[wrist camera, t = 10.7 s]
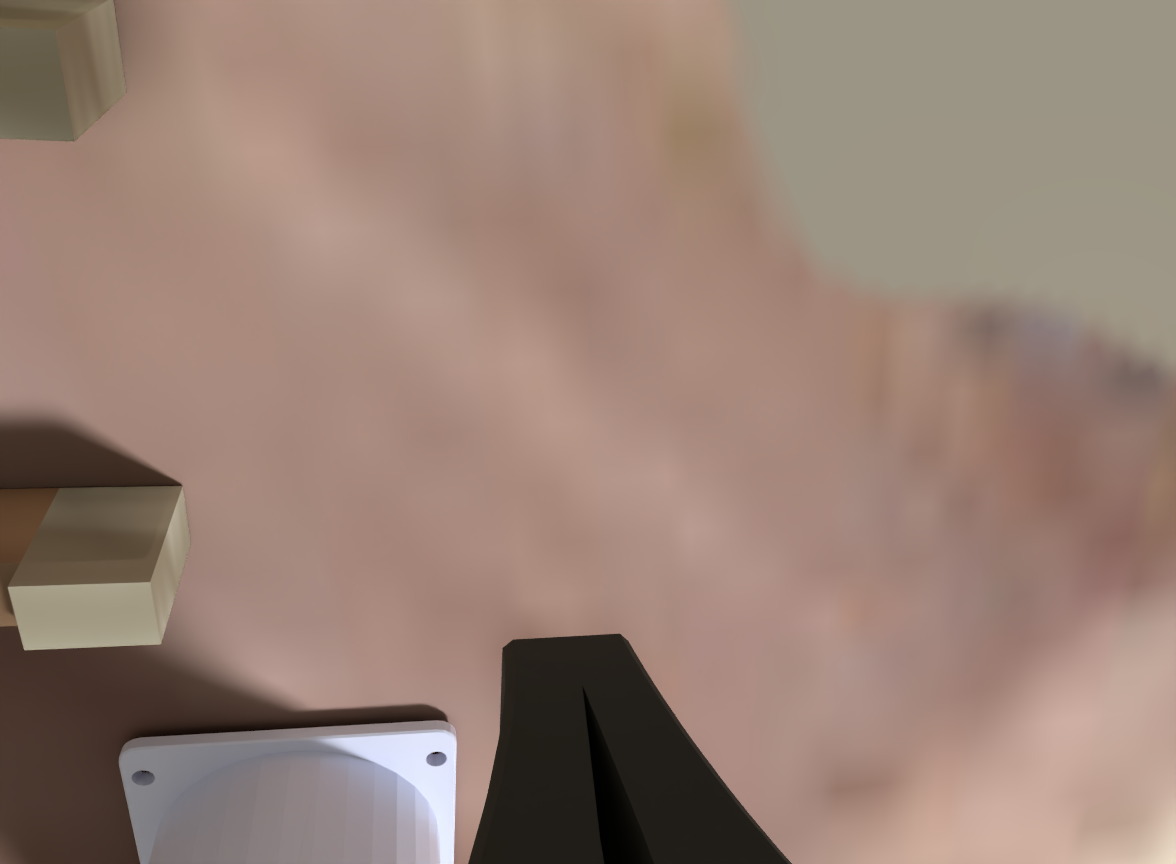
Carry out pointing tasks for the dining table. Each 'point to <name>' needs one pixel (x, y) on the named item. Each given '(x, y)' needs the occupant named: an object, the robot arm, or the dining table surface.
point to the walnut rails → (97, 514)
